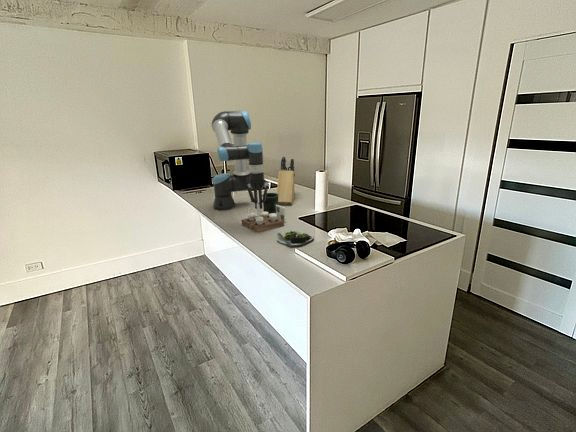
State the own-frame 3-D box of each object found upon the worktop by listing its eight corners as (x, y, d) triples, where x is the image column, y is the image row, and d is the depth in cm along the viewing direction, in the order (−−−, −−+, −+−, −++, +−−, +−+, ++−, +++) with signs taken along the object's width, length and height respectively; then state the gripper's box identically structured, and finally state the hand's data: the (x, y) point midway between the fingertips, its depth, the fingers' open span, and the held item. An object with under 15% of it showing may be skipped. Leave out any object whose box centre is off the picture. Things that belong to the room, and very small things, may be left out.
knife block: (296, 193, 252) (295, 155, 242) (291, 206, 219) (290, 161, 209) (282, 193, 253) (280, 155, 244) (275, 206, 220) (274, 162, 210)
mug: (264, 215, 200) (263, 197, 196) (261, 209, 214) (260, 192, 210) (281, 214, 202) (280, 196, 198) (276, 208, 216) (276, 191, 212)
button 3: (260, 220, 189) (259, 212, 188) (266, 218, 192) (265, 211, 190) (263, 221, 186) (263, 214, 185) (270, 220, 188) (269, 212, 187)
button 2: (254, 225, 177) (254, 217, 176) (261, 223, 180) (260, 215, 178) (258, 227, 174) (258, 219, 172) (265, 225, 176) (264, 217, 175)
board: (241, 224, 185) (241, 219, 184) (267, 218, 195) (267, 213, 194) (257, 233, 171) (257, 227, 170) (284, 225, 181) (283, 220, 180)
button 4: (267, 222, 182) (267, 214, 181) (274, 220, 185) (273, 212, 183) (272, 224, 179) (271, 216, 177) (278, 222, 181) (278, 214, 180)
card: (276, 218, 194) (275, 204, 191) (280, 217, 196) (280, 203, 193) (284, 222, 187) (284, 208, 184) (289, 221, 189) (288, 206, 186)
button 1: (246, 221, 184) (246, 213, 183) (253, 219, 187) (252, 212, 185) (250, 223, 181) (249, 215, 179) (257, 221, 183) (256, 214, 182)
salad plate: (266, 241, 161) (266, 232, 160) (290, 231, 174) (290, 223, 172) (294, 251, 149) (294, 242, 147) (318, 239, 161) (318, 231, 159)
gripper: (242, 173, 165) (246, 216, 172) (266, 173, 163) (269, 216, 170) (246, 171, 172) (249, 212, 179) (270, 170, 170) (272, 212, 177)
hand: (259, 214), depth 174 cm, fingers closed
